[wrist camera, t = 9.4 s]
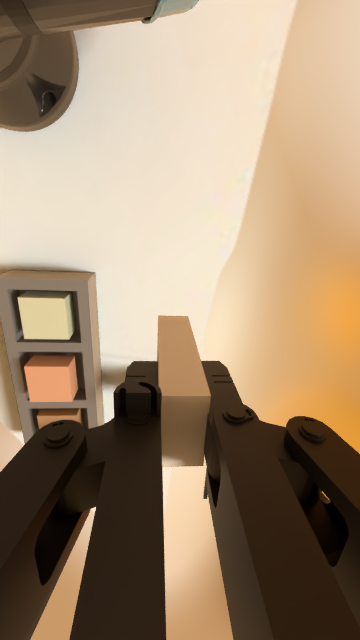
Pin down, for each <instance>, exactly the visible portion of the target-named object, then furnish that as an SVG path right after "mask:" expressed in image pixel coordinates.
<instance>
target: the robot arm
mask: <svg viewBox="0 0 360 640" xmlns="http://www.w3.org/2000/svg"><path fill="white" fill-rule="evenodd" d="M198 1H199V0H0V126H1V127H4V128H6V129H10V130H14V131H25V132H26V131H35V130H39V129H42V128H45V127H47V126H49V125H51V124H52V123H54V122H55V121H56V120H58V119H59V118H60V117H61V116H62V115H63V114H64V112H65V111H66V110H67V108H68V107H69V105H70V103H71V101H72V99H73V96H74V93H75V90H76V86H77V81H78V71H79V63H78V52H77V46H76V42H75V38H74V35H73V32H72V30H79V29H86V28H92V27H99V26H106V25H113V24H120V23H127V22H133V21H140V20H141V21H142V23H144V24H148V23H152V22H153V21H155V20H156V19H157V18H159V17H164V16H169V15H173V14H178V13H183V12H186V11H188V10H190V9H192V8H193V7H194V6H195V5H196V4H197V2H198ZM204 454H205V460H206V464H207V470H206V478H205V487H204V499H207V495H208V497H209V503H210V509H211V514H212V520H213V526H214V531H215V537H216V543H217V548H218V553H219V559H220V565H221V571H222V577H223V582H224V588H225V594H226V599H227V605H228V611H229V616H230V622H231V627H232V633H233V639H234V640H360V454H359V453H358V452H357V451H355V450H354V449H353V448H352V447H351V446H350V445H349V444H348V443H347V442H345V441H344V440H343V439H342V438H341V437H340V436H339V435H338V434H336V433H335V432H334V431H333V430H332V429H331V428H330V427H328V426H327V425H325V424H324V423H323V422H321V421H318V420H316V419H313V418H310V417H305V416H297V417H294V418H291V419H289V421H288V423H287V425H286V427H282V426H278V425H273V424H269V423H266V422H263V421H260V420H259V418H258V416H257V415H256V413H255V412H254V411H253V410H252V409H250V408H249V407H248V406H246V405H244V404H243V403H242V401H241V398H240V396H239V394H238V392H237V389H236V387H235V385H234V383H233V380H232V378H231V377H230V374H229V371H228V369H227V368H226V366H224V365H223V364H222V363H221V362H220V361H201V360H200V356H199V353H198V349H197V346H196V342H195V339H194V336H193V332H192V329H191V325H190V322H189V318H188V316H158V346H157V361H133V362H132V364H131V365H130V366H129V367H128V368H127V372H126V377H125V382H124V383H122V384H121V385H119V386H118V387H117V388H116V389H115V391H114V418H113V419H112V420H111V421H109V422H107V423H105V424H103V425H100V426H98V427H94V428H90V429H86V430H85V428H84V426H83V425H82V424H81V423H80V422H77V421H74V420H59V421H54V422H51V423H49V424H47V425H45V426H43V427H42V428H41V429H39V430H38V431H37V432H36V433H35V434H34V435H33V436H32V437H31V438H30V439H29V440H28V442H27V443H26V444H25V445H24V446H23V447H22V448H21V450H20V451H19V452H18V453H17V454H16V455H15V456H14V457H13V459H12V460H11V461H10V462H9V463H8V464H7V465H6V466H5V468H4V469H3V470H2V471H1V472H0V640H30V639H31V637H32V635H33V632H34V630H35V628H36V626H37V624H38V622H39V620H40V617H41V615H42V613H43V611H44V609H45V607H46V605H47V602H48V600H49V598H50V596H51V594H52V592H53V590H54V587H55V585H56V583H57V581H58V579H59V576H60V574H61V572H62V570H63V568H64V566H65V564H66V562H67V559H68V557H69V555H70V553H71V551H72V549H73V547H74V545H75V542H76V540H77V538H78V536H79V534H80V532H81V530H82V527H83V525H84V523H85V521H86V519H87V517H88V515H89V512H90V509H91V508H94V507H96V511H95V516H94V521H93V526H92V531H91V536H90V541H89V546H88V550H87V556H86V561H85V566H84V570H83V575H82V581H81V585H80V590H79V595H78V600H77V605H76V610H75V615H74V620H73V625H72V630H71V635H70V640H166V615H165V572H164V529H163V528H164V527H163V484H162V467H174V466H175V467H176V466H203V463H204ZM322 491H323V492H324V494H325V495H326V496H327V497H328V498H329V500H328V499H327V498H326V497H325V496H324V495H323V493H322Z"/></svg>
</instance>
